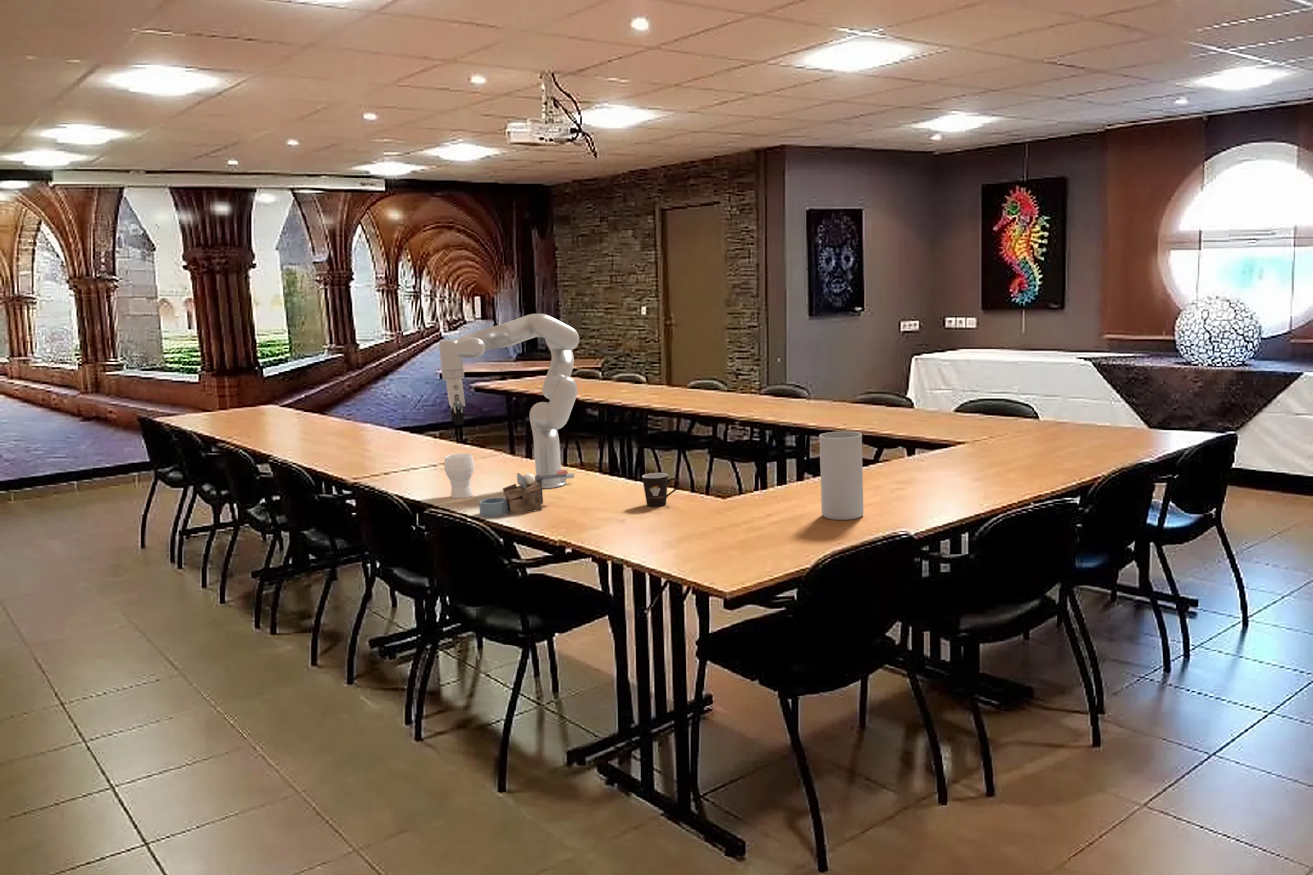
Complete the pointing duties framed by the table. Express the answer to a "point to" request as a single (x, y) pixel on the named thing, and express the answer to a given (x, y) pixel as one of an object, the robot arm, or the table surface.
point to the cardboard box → (524, 497)
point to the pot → (493, 507)
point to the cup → (459, 474)
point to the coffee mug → (657, 488)
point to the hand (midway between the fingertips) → (458, 422)
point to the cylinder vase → (841, 475)
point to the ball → (529, 478)
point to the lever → (542, 477)
